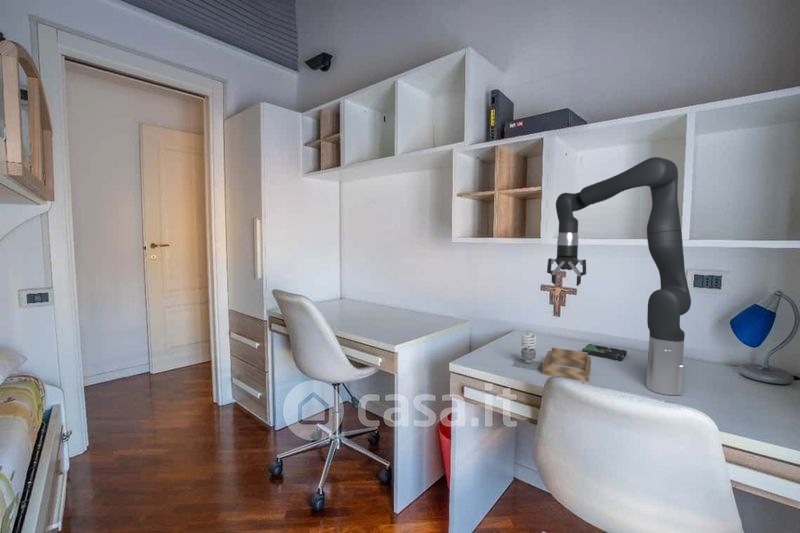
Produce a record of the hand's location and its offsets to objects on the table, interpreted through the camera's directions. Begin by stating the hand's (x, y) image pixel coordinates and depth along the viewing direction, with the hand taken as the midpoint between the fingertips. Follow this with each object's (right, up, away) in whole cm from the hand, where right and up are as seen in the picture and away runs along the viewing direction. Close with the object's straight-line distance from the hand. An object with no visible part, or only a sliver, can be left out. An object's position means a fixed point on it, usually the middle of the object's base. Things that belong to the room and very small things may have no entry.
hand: (565, 284), depth 153 cm
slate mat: (-17, -31, -5) cm, 35 cm away
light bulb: (-17, -30, -5) cm, 35 cm away
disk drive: (+20, -30, +8) cm, 37 cm away
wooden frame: (-5, -31, -12) cm, 34 cm away
